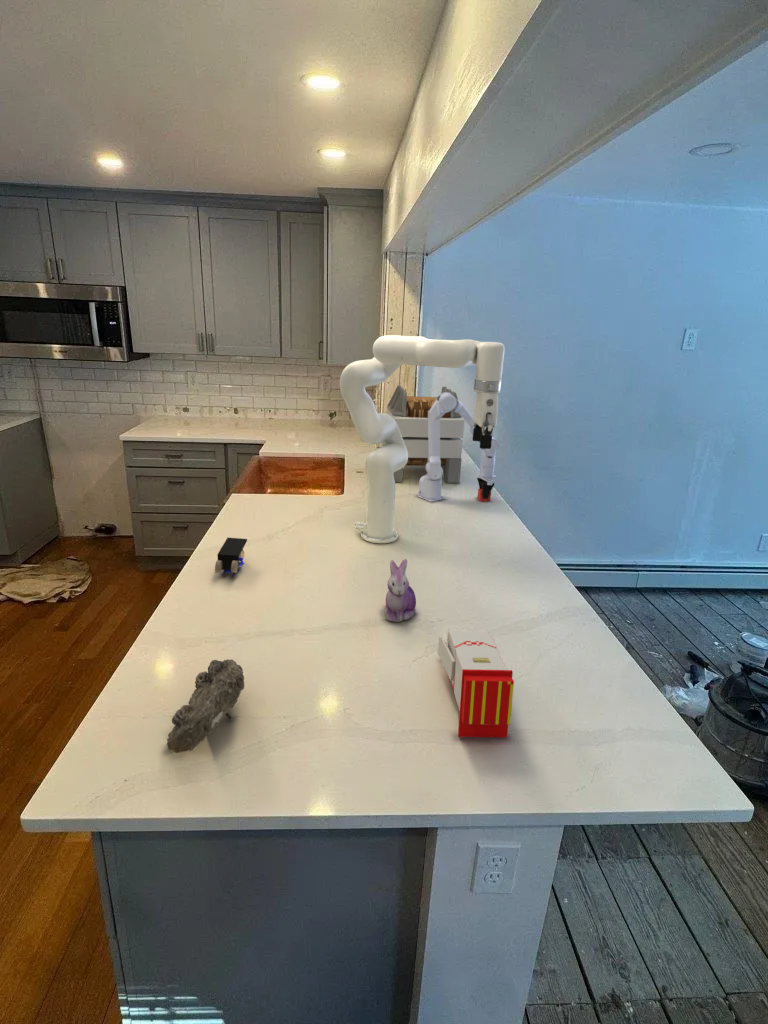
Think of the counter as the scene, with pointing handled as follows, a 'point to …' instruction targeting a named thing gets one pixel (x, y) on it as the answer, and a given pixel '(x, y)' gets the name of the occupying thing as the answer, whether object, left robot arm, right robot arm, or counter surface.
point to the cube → (482, 496)
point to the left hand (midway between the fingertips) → (481, 444)
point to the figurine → (399, 594)
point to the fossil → (206, 705)
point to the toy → (478, 682)
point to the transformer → (415, 432)
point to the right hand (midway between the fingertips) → (483, 496)
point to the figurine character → (230, 556)
